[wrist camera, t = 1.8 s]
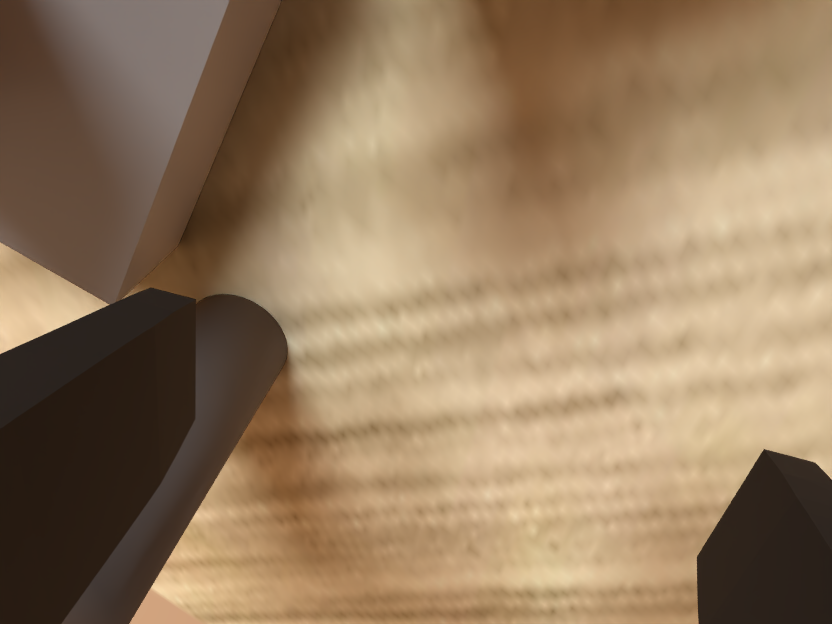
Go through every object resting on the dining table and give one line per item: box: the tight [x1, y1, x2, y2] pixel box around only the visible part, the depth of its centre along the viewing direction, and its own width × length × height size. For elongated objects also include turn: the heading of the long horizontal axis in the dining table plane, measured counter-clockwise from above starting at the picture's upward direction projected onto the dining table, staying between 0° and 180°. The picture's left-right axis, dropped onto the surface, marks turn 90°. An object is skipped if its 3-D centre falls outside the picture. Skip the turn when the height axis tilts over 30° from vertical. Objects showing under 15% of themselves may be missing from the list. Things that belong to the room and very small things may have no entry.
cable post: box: [62, 294, 287, 624], centre depth 13 cm, size 2×2×7 cm
